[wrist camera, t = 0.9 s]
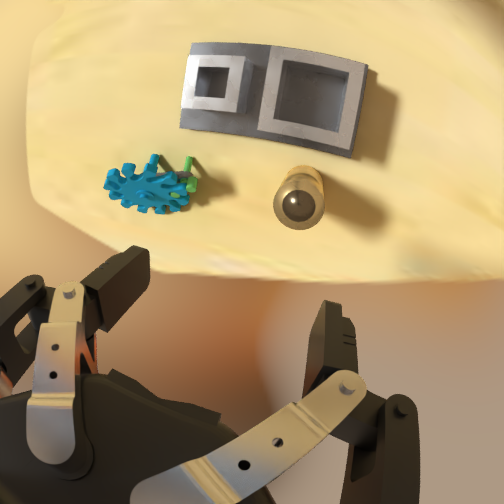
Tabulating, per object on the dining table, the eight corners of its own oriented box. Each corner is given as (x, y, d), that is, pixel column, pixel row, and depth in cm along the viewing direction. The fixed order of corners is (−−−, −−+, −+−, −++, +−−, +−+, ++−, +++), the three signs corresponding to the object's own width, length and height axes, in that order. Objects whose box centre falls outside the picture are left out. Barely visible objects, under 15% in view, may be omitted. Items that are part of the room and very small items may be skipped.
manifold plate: (196, 45, 23) (176, 35, 19) (366, 67, 20) (375, 57, 16) (184, 127, 28) (163, 130, 24) (349, 156, 25) (355, 163, 21)
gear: (126, 219, 33) (85, 180, 23) (136, 181, 35) (102, 136, 25) (207, 218, 32) (182, 169, 23) (212, 176, 34) (193, 122, 24)
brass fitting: (288, 161, 27) (278, 175, 20) (326, 170, 27) (329, 187, 20) (281, 197, 29) (269, 223, 22) (318, 205, 28) (317, 235, 21)
